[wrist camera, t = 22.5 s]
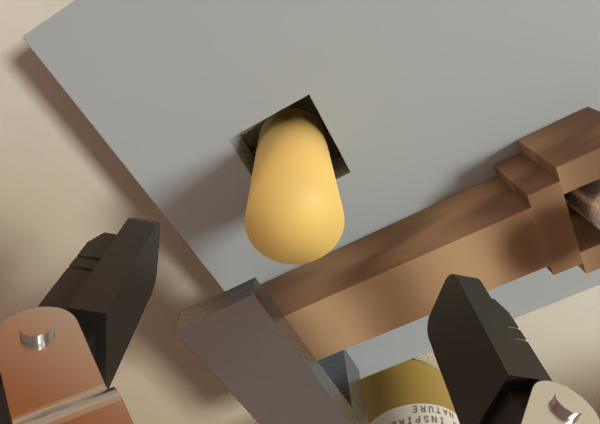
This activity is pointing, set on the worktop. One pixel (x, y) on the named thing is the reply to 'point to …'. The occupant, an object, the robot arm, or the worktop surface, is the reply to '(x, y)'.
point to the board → (326, 110)
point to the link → (453, 244)
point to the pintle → (586, 201)
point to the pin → (293, 191)
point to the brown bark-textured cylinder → (408, 395)
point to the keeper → (271, 361)
